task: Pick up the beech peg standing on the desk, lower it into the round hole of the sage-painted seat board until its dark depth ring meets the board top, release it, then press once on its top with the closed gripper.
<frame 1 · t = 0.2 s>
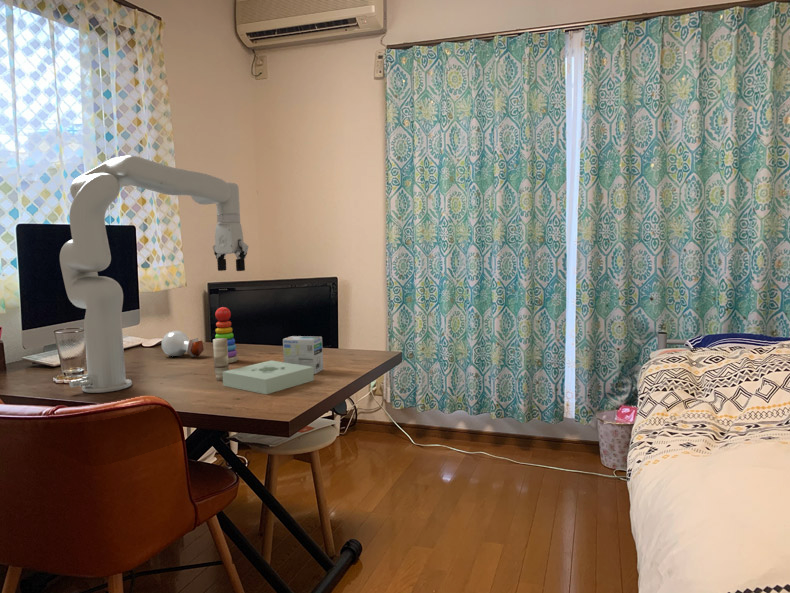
hand: (231, 270, 197), 31 cm above the table, tool pointing down, fingers open, 9 cm apart
stacking toy: (226, 362, 197), on the table
board: (269, 383, 165), on the table
light bulb box: (303, 372, 179), on the table
peg: (222, 379, 172), on the table
potion bottle: (182, 357, 208), on the table
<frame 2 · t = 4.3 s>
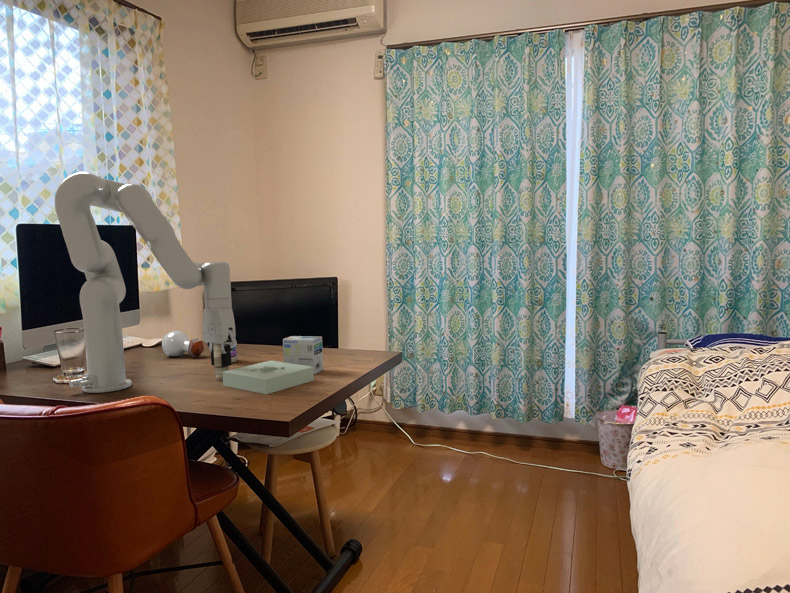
hand: (221, 364, 171), 4 cm above the table, tool pointing down, fingers closed on peg, 4 cm apart
peg: (222, 379, 172), on the table, touching gripper
everything else where it was.
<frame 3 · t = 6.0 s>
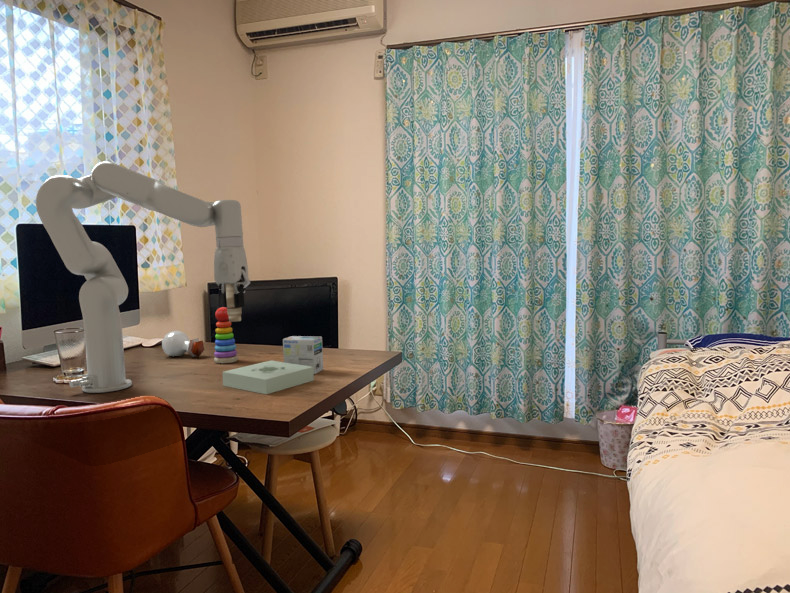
hand: (234, 306, 168), 22 cm above the table, tool pointing down, fingers closed on peg, 4 cm apart
peg: (235, 320, 168), point 18 cm above the table, touching gripper
everything else where it was.
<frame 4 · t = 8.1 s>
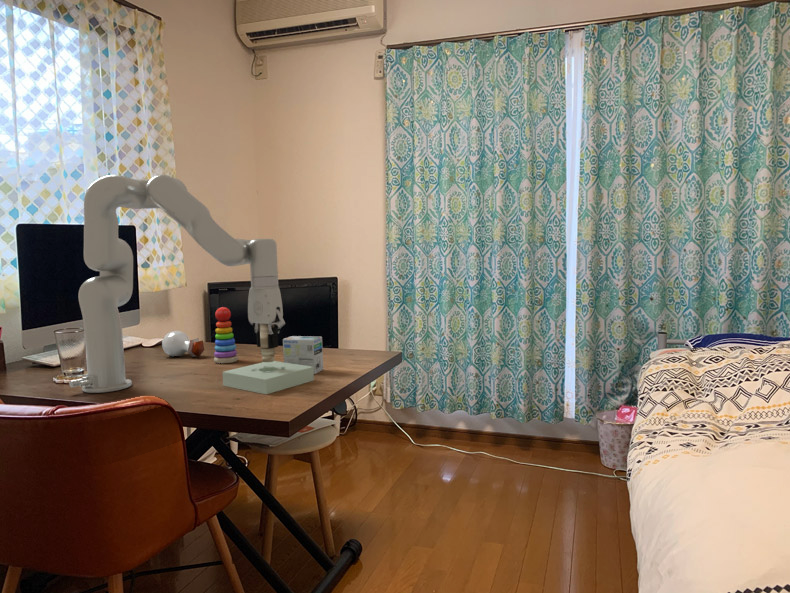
hand: (267, 346, 164), 11 cm above the table, tool pointing down, fingers closed on peg, 4 cm apart
peg: (268, 361, 165), point 6 cm above the table, touching gripper
everything else where it was.
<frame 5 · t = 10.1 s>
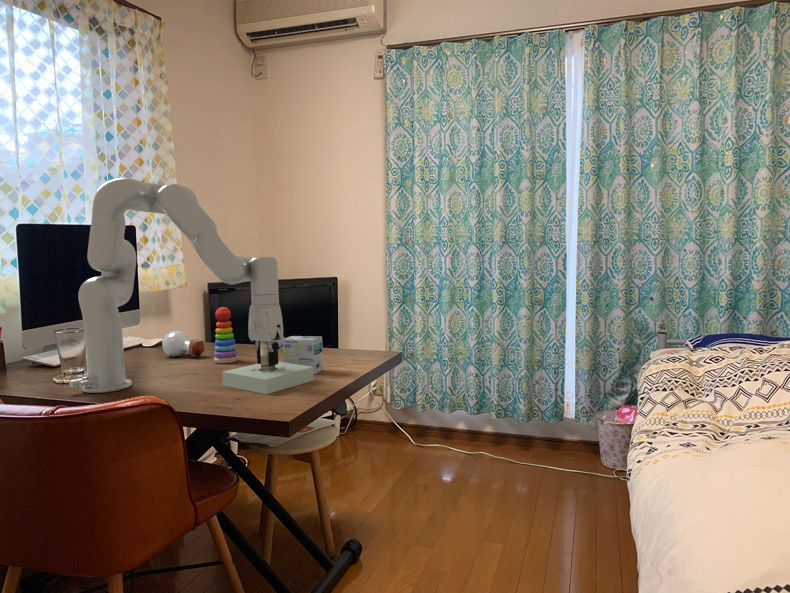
hand: (267, 363, 165), 6 cm above the table, tool pointing down, fingers closed on peg, 4 cm apart
peg: (268, 378, 165), point 1 cm above the table, touching gripper
everything else where it was.
when the fingers open (6 cm above the table, at t = 10.1 s): peg drops 1 cm, resting in board.
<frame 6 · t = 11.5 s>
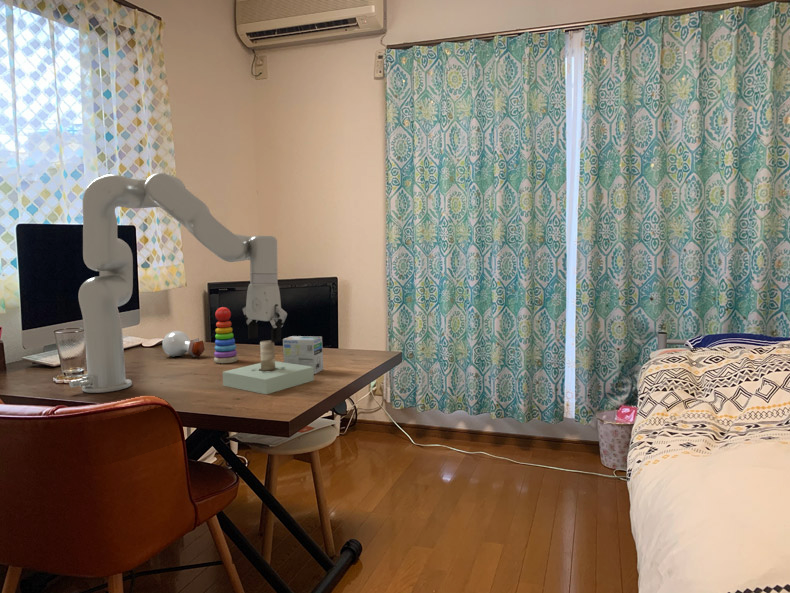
hand: (264, 339, 164), 13 cm above the table, tool pointing down, fingers open, 9 cm apart
peg: (268, 383, 165), resting in board
everything else where it was.
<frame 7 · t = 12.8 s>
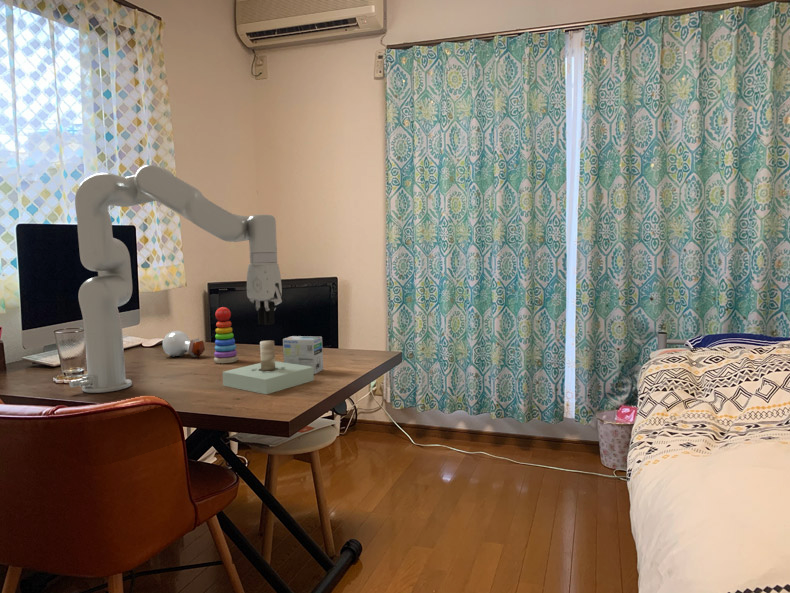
hand: (266, 323, 164), 17 cm above the table, tool pointing down, fingers closed
nothing on the table moved.
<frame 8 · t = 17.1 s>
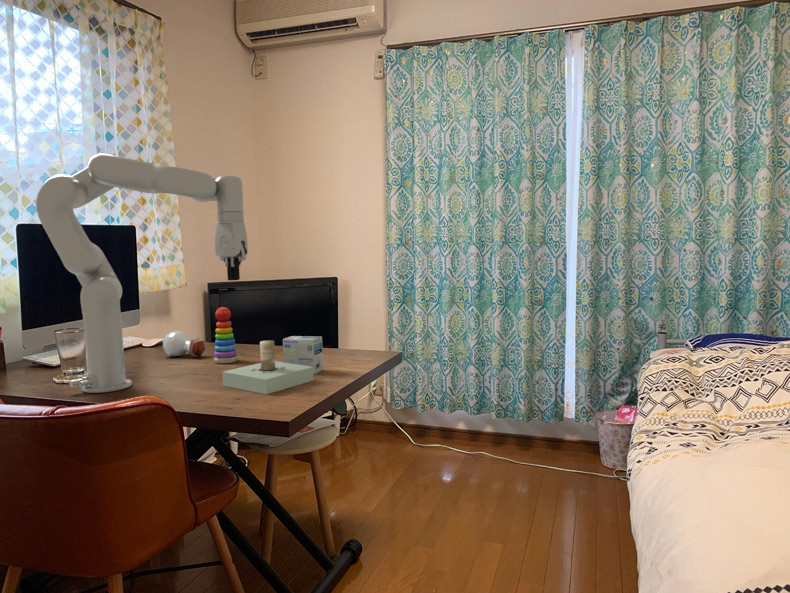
hand: (233, 280, 174), 29 cm above the table, tool pointing down, fingers closed
nothing on the table moved.
at the end: peg 0.1 cm off-centre on the board, point 0.0 cm above the board's base; peg tilted 0°; the gripper is holding nothing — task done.
